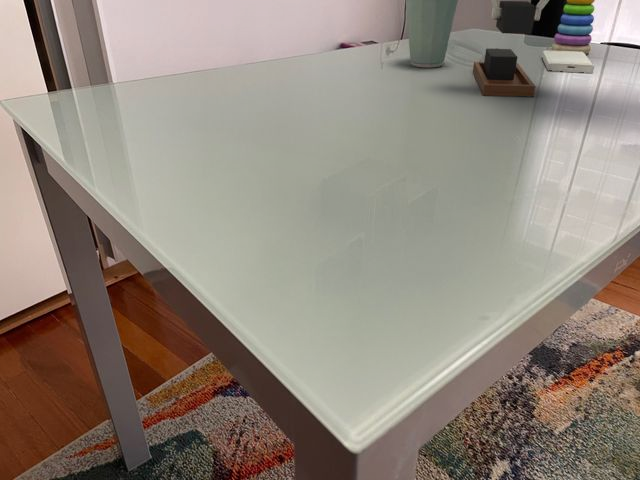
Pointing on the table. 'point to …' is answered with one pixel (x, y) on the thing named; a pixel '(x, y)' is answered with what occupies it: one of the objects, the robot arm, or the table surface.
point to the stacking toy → (575, 27)
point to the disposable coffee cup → (429, 30)
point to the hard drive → (567, 61)
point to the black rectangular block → (500, 64)
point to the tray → (504, 83)
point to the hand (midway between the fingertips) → (515, 19)
